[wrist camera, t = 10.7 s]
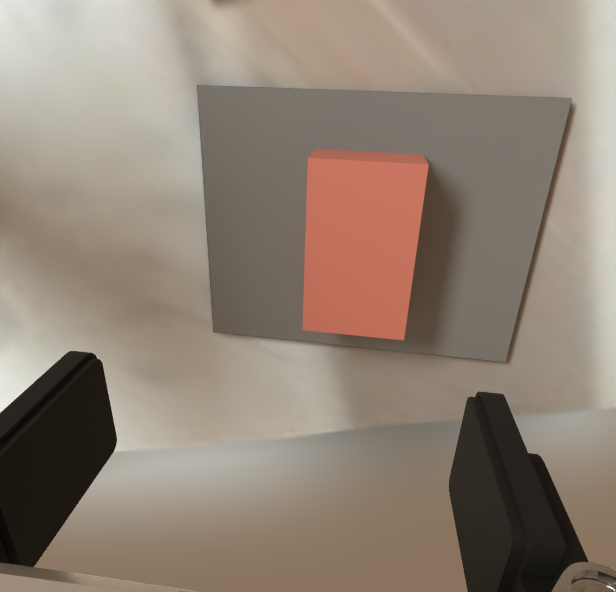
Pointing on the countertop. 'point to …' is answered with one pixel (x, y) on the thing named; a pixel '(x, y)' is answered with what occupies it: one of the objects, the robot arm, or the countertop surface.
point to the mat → (435, 214)
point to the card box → (361, 241)
